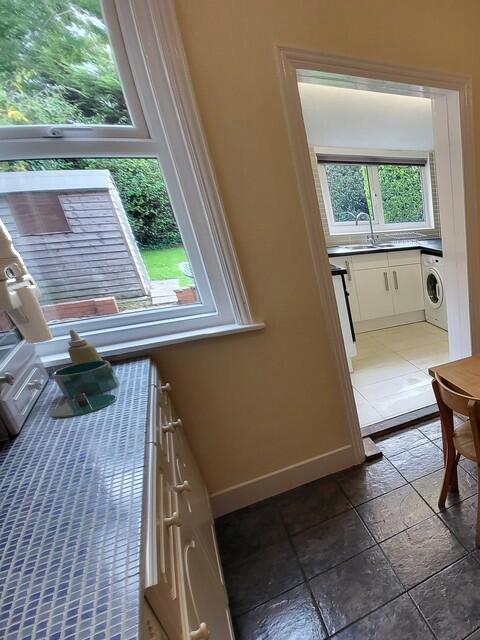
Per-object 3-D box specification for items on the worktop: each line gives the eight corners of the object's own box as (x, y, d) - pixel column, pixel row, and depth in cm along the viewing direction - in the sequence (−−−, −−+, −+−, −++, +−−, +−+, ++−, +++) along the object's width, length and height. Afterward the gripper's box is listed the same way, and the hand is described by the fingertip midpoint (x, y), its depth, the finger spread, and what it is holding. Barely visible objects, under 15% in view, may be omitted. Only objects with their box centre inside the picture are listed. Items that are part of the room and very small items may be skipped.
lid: (44, 424, 116) (35, 410, 114) (62, 405, 127) (55, 391, 125) (110, 410, 122) (103, 396, 120) (122, 393, 134) (116, 380, 132)
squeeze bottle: (111, 371, 153) (88, 325, 146) (109, 377, 147) (86, 329, 140) (81, 377, 148) (57, 330, 141) (79, 384, 143) (53, 334, 135)
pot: (58, 404, 128) (44, 379, 125) (73, 389, 139) (60, 366, 135) (114, 393, 134) (102, 369, 131) (124, 380, 145) (113, 357, 141)
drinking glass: (31, 345, 113) (1, 291, 107) (18, 343, 115) (-12, 290, 109) (63, 338, 119) (36, 286, 113) (49, 336, 121) (22, 285, 115)
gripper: (4, 267, 116) (30, 315, 121) (-37, 276, 99) (-5, 331, 105) (35, 264, 119) (59, 311, 124) (0, 273, 102) (29, 326, 108)
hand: (29, 320), depth 115 cm, fingers closed on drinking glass, 6 cm apart
